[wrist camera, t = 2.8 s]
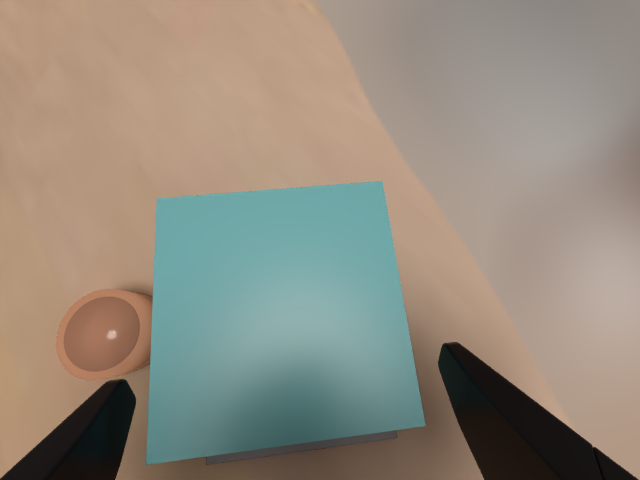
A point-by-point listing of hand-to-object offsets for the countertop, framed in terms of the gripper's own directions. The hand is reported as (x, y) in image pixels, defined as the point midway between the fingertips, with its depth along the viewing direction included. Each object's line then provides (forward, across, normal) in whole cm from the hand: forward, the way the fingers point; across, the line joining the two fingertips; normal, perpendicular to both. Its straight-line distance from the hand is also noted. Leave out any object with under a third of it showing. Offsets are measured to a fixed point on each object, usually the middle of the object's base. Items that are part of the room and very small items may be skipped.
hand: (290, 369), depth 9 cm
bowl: (+8, +10, +5) cm, 14 cm away
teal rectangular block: (+8, 0, +5) cm, 9 cm away
